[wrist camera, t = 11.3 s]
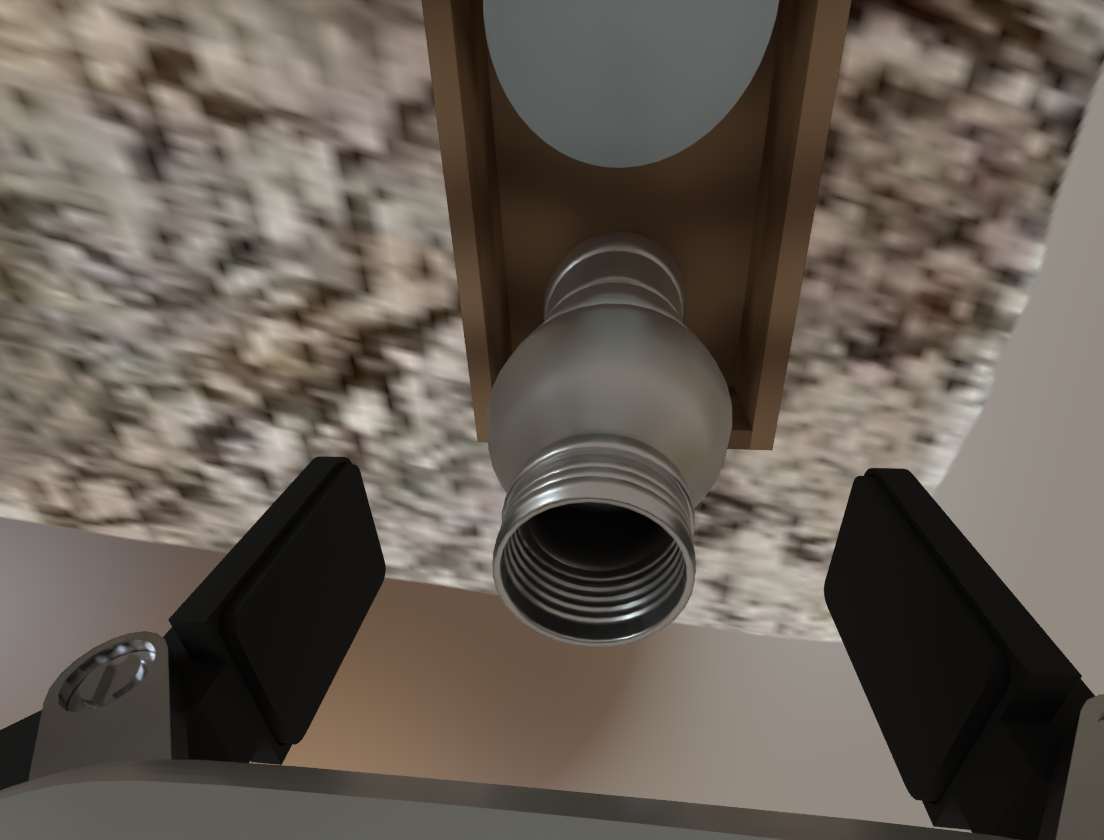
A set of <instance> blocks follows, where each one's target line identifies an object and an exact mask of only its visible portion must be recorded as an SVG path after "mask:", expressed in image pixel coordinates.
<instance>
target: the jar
mask: <svg viewBox="0 0 1104 840" xmlns="http://www.w3.org/2000/svg"><path fill="white" fill-rule="evenodd" d="M778 4H779V0H483V15H484V24H485V31H486V39H487V43H488V47H489V51H490V55H491V59H492V63H493V65H494V68H495V71H496V74H497V76H498V79H499V81H500V83H501V85H502V87H503V89H504V91H505V93H506V96H507V98H508V99H509V101H510V102H511V104H512V105H513V107H514V108H515V110H516V112H517V113H518V115H519V116H520V117H521V118H522V119H523V121H524V122H525V123H526V124H527V125H528V126H529V128H530V129H531V130H532V131H533V132H534V133H536V134H537V135H538V136H539V137H540V138H541V139H542V140H543V141H544V142H546V143H547V144H549V145H550V146H552V147H553V148H555V149H556V150H557V151H559V152H561V153H563V154H565V155H567V156H569V157H571V158H573V159H576V160H579V161H582V162H585V163H588V164H591V165H597V166H603V167H616V168H626V167H634V166H642V165H646V164H650V163H654V162H657V161H660V160H663V159H665V158H667V157H670V156H672V155H675V154H677V153H678V152H680V151H682V150H684V149H686V148H687V147H689V146H691V145H692V144H694V143H695V142H696V141H698V140H699V139H700V138H702V137H703V136H705V135H706V134H707V133H708V132H709V131H711V130H712V129H713V128H714V127H715V126H716V125H717V124H718V123H719V122H720V121H721V120H722V119H723V118H724V117H725V116H726V115H727V113H728V112H729V111H730V110H731V109H732V107H733V106H734V105H735V104H736V103H737V101H738V100H739V98H740V97H741V95H742V94H743V92H744V91H745V89H746V88H747V87H748V85H749V84H750V82H751V80H752V78H753V76H754V74H755V72H756V70H757V68H758V67H759V65H760V63H761V60H762V58H763V55H764V53H765V50H766V48H767V45H768V43H769V40H770V37H771V33H772V30H773V26H774V23H775V20H776V15H777V10H778Z"/></svg>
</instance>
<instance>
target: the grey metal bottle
mask: <svg viewBox="0 0 1104 840" xmlns="http://www.w3.org/2000/svg"><path fill="white" fill-rule="evenodd" d="M685 307H686V288H685V283H684V280H683V276H682V273H681V271H680V269H679V267H678V265H677V263H676V261H675V260H674V259H673V257H672V256H671V255H670V254H669V253H668V251H667V250H666V249H664V248H663V247H662V246H661V245H659V244H658V243H657V242H655V241H653V240H651V239H649V238H647V237H645V236H643V235H639V234H635V233H630V232H609V233H604V234H598V235H596V236H593V237H591V238H588V239H586V240H584V241H582V242H581V243H579V244H578V245H576V246H575V247H573V248H572V249H571V250H570V251H569V252H568V253H567V254H566V255H565V256H564V257H563V258H562V259H561V260H560V261H559V263H558V264H557V266H556V267H555V269H554V270H553V272H552V274H551V276H550V279H549V281H548V283H547V287H546V292H545V296H544V323H543V324H541V325H540V326H539V327H538V328H537V329H535V330H534V331H533V332H532V333H531V334H530V335H529V336H528V337H527V338H526V339H525V340H524V341H522V342H521V343H520V345H519V346H518V347H517V349H516V350H515V351H514V353H513V354H512V355H511V357H510V358H509V359H508V361H507V362H506V364H505V365H504V366H503V368H502V369H501V371H500V372H499V374H498V376H497V379H496V381H495V383H494V386H493V388H492V390H491V393H490V398H489V403H488V408H487V438H488V449H489V454H490V458H491V462H492V466H493V469H494V471H495V473H496V475H497V478H498V480H499V482H500V484H501V486H502V487H503V489H504V490H505V492H506V493H507V495H506V498H505V502H504V506H503V510H502V525H501V528H500V531H499V534H498V537H497V540H496V544H495V548H494V552H493V578H494V582H495V586H496V589H497V592H498V593H499V595H500V597H501V599H502V600H503V602H504V604H505V605H506V606H507V608H508V609H509V610H510V611H511V612H512V613H513V615H514V616H516V617H517V618H518V619H519V620H520V621H522V622H523V623H524V624H525V625H526V626H528V627H530V628H532V629H533V630H535V631H537V632H538V633H540V634H542V635H544V636H547V637H550V638H552V639H555V640H557V641H561V642H565V643H569V644H574V645H579V646H589V647H608V646H616V645H622V644H629V643H632V642H635V641H638V640H641V639H644V638H647V637H649V636H651V635H653V634H655V633H656V632H658V631H660V630H662V629H663V628H665V627H666V626H667V625H668V624H670V623H671V622H672V621H674V620H675V619H676V617H677V616H678V615H679V614H680V613H681V612H682V610H683V609H684V608H685V606H686V604H687V602H688V600H689V598H690V597H691V595H692V590H693V586H694V581H695V573H696V562H695V551H694V545H693V536H694V531H695V513H694V507H695V506H696V505H697V504H698V503H700V502H701V501H702V499H703V498H704V497H705V495H706V494H707V493H708V491H709V490H710V489H711V488H712V486H713V485H714V483H715V481H716V479H717V477H718V475H719V473H720V471H721V469H722V467H723V464H724V460H725V456H726V451H727V447H728V443H729V438H730V434H731V429H732V403H731V399H730V395H729V391H728V387H727V383H726V381H725V379H724V377H723V375H722V373H721V371H720V369H719V367H718V365H717V363H716V361H715V360H714V359H713V357H712V356H711V354H710V352H709V351H708V350H707V348H706V347H705V346H704V345H703V344H702V343H701V341H700V340H699V339H698V338H697V337H696V336H695V334H694V333H692V332H691V331H690V330H689V329H688V328H687V327H686V326H685V325H684V324H683V321H684V314H685Z"/></svg>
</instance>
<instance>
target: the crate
mask: <svg viewBox="0 0 1104 840" xmlns="http://www.w3.org/2000/svg"><path fill="white" fill-rule="evenodd" d="M851 1H852V0H779V4H778V10H777V15H776V20H775V23H774V26H773V30H772V33H771V37H770V40H769V43H768V45H767V48H766V50H765V53H764V55H763V58H762V60H761V63H760V65H759V67H758V68H757V70H756V72H755V74H754V76H753V78H752V80H751V82H750V84H749V85H748V87H747V88H746V89H745V91H744V92H743V94H742V95H741V97H740V98H739V100H738V101H737V103H736V104H735V105H734V106H733V107H732V109H731V110H730V111H729V112H728V113H727V115H726V116H725V117H724V118H723V119H722V120H721V121H720V122H719V123H718V124H717V125H716V126H715V127H714V128H713V129H712V130H711V131H709V132H708V133H707V134H706V135H705V136H703V137H702V138H700V139H699V140H698V141H696V142H695V143H694V144H692V145H691V146H689V147H687V148H686V149H684V150H682V151H680V152H678V153H677V154H675V155H672V156H670V157H667V158H665V159H663V160H660V161H657V162H654V163H650V164H646V165H642V166H634V167H626V168H616V167H603V166H597V165H591V164H588V163H585V162H582V161H579V160H576V159H573V158H571V157H569V156H567V155H565V154H563V153H561V152H559V151H557V150H556V149H555V148H553V147H552V146H550V145H549V144H547V143H546V142H544V141H543V140H542V139H541V138H540V137H539V136H538V135H537V134H536V133H534V132H533V131H532V130H531V129H530V128H529V126H528V125H527V124H526V123H525V122H524V121H523V119H522V118H521V117H520V116H519V115H518V113H517V112H516V110H515V108H514V107H513V105H512V104H511V102H510V101H509V99H508V98H507V96H506V93H505V91H504V89H503V87H502V85H501V83H500V81H499V79H498V76H497V74H496V71H495V68H494V65H493V63H492V59H491V55H490V51H489V47H488V43H487V39H486V31H485V24H484V15H483V0H422V7H423V15H424V23H425V31H426V39H427V46H428V54H429V62H430V70H431V78H432V86H433V94H434V101H435V109H436V117H437V125H438V133H439V141H440V148H441V156H442V164H443V172H444V180H445V188H446V196H447V203H448V211H449V219H450V227H451V235H452V243H453V251H454V258H455V266H456V274H457V282H458V290H459V298H460V306H461V313H462V321H463V329H464V337H465V345H466V353H467V361H468V368H469V376H470V384H471V392H472V400H473V408H474V416H475V423H476V431H477V439H478V442H488V438H487V408H488V403H489V398H490V393H491V390H492V388H493V386H494V383H495V381H496V379H497V376H498V374H499V372H500V371H501V369H502V368H503V366H504V365H505V364H506V362H507V361H508V359H509V358H510V357H511V355H512V354H513V353H514V351H515V350H516V349H517V347H518V346H519V345H520V343H521V342H522V341H524V340H525V339H526V338H527V337H528V336H529V335H530V334H531V333H532V332H533V331H534V330H535V329H537V328H538V327H539V326H540V325H541V324H543V323H544V296H545V292H546V287H547V283H548V281H549V279H550V276H551V274H552V272H553V270H554V269H555V267H556V266H557V264H558V263H559V261H560V260H561V259H562V258H563V257H564V256H565V255H566V254H567V253H568V252H569V251H570V250H571V249H572V248H573V247H575V246H576V245H578V244H579V243H581V242H582V241H584V240H586V239H588V238H591V237H593V236H596V235H598V234H604V233H609V232H630V233H635V234H639V235H643V236H645V237H647V238H649V239H651V240H653V241H655V242H657V243H658V244H659V245H661V246H662V247H663V248H664V249H666V250H667V251H668V253H669V254H670V255H671V256H672V257H673V259H674V260H675V261H676V263H677V265H678V267H679V269H680V271H681V273H682V276H683V280H684V283H685V288H686V307H685V314H684V321H683V324H684V325H685V326H686V327H687V328H688V329H689V330H690V331H691V332H692V333H694V334H695V336H696V337H697V338H698V339H699V340H700V341H701V343H702V344H703V345H704V346H705V347H706V348H707V350H708V351H709V352H710V354H711V356H712V357H713V359H714V360H715V361H716V363H717V365H718V367H719V369H720V371H721V373H722V375H723V377H724V379H725V381H726V383H727V387H728V391H729V395H730V399H731V403H732V429H731V434H730V438H729V443H728V447H727V449H749V450H772V449H773V443H774V437H775V432H776V426H777V420H778V415H779V409H780V403H781V398H782V392H783V386H784V381H785V375H786V369H787V364H788V358H789V352H790V347H791V341H792V335H793V330H794V324H795V318H796V313H797V307H798V301H799V296H800V290H801V284H802V279H803V273H804V267H805V262H806V256H807V250H808V245H809V239H810V233H811V228H812V222H813V216H814V211H815V205H816V199H817V194H818V188H819V182H820V177H821V171H822V165H823V160H824V154H825V148H826V143H827V137H828V131H829V126H830V120H831V114H832V109H833V103H834V97H835V92H836V86H837V80H838V75H839V69H840V63H841V58H842V52H843V46H844V41H845V35H846V29H847V24H848V18H849V12H850V7H851Z"/></svg>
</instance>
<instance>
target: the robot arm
mask: <svg viewBox="0 0 1104 840" xmlns="http://www.w3.org/2000/svg"><path fill="white" fill-rule="evenodd" d="M385 571H386V568H385V561H384V557H383V554H382V550H381V546H380V543H379V539H378V535H377V532H376V528H375V524H374V521H373V517H372V513H371V510H370V506H369V502H368V499H367V495H366V491H365V488H364V484H363V480H362V476H361V473H360V470H359V468H358V466H357V465H354V464H352V463H351V461H350V460H349V459H348V458H346V457H316V458H314V459H313V460H312V461H311V462H310V463H309V464H308V466H307V467H306V468H305V469H304V470H303V471H302V472H301V473H300V474H299V476H298V477H297V478H296V479H295V480H294V481H293V482H292V483H291V484H290V486H289V487H288V488H287V489H286V490H285V491H284V492H283V493H282V494H281V495H280V497H279V498H278V499H277V500H276V501H275V502H274V503H273V504H272V505H271V507H270V508H269V509H268V510H267V511H266V512H265V513H264V514H263V515H262V517H261V518H260V519H259V520H258V521H257V522H256V523H255V524H254V525H253V526H252V528H251V529H250V530H249V531H248V532H247V533H246V534H245V535H244V536H243V538H242V539H241V540H240V541H239V542H238V543H237V544H236V545H235V546H234V548H233V549H232V550H231V551H230V552H229V553H228V554H227V555H226V556H225V558H224V559H223V560H222V561H221V562H220V563H219V564H218V565H217V566H216V568H215V569H214V570H213V571H212V572H211V573H210V574H209V575H208V576H207V578H205V580H204V581H203V582H202V583H201V584H200V585H199V586H198V587H197V588H196V590H195V591H194V592H193V593H192V594H191V595H190V596H189V597H188V598H187V600H186V601H185V602H184V603H183V604H182V605H181V607H179V608H178V610H177V611H176V612H175V613H174V614H173V615H172V616H171V617H170V618H169V622H170V623H171V625H172V628H171V629H170V630H169V631H168V632H167V633H166V634H165V636H164V637H161V636H160V635H159V634H157V633H152V632H146V631H143V632H135V633H128V634H125V635H122V636H119V637H116V638H113V639H111V640H108V641H106V642H105V643H103V644H101V645H98V646H96V647H94V648H93V649H91V650H90V651H88V652H87V653H85V654H84V655H82V656H81V657H79V658H78V659H76V660H75V661H74V662H73V663H72V664H71V665H70V666H68V668H66V669H65V670H64V671H63V672H62V673H61V674H60V675H59V677H58V678H57V679H56V680H55V682H54V683H53V684H52V685H51V687H50V688H49V691H48V693H47V695H46V698H45V700H44V703H43V708H42V710H41V711H39V712H37V713H35V714H32V715H31V716H28V717H26V718H24V719H22V720H20V721H18V722H16V723H14V724H12V725H10V726H8V727H6V728H4V729H2V730H0V840H1104V695H1098V696H1094V694H1093V693H1092V692H1091V691H1090V689H1089V688H1088V687H1087V686H1086V685H1085V684H1084V682H1083V681H1082V680H1081V679H1080V678H1081V677H1082V675H1081V674H1080V673H1079V672H1078V671H1077V670H1076V668H1075V667H1074V666H1073V665H1072V663H1071V662H1070V661H1069V660H1068V659H1067V658H1066V657H1065V655H1064V654H1063V653H1062V652H1061V650H1060V649H1059V648H1058V647H1057V646H1056V644H1055V643H1054V642H1053V641H1052V640H1051V638H1049V636H1048V635H1047V634H1046V633H1045V631H1044V630H1043V629H1042V628H1041V627H1040V625H1039V624H1038V623H1037V622H1036V621H1035V619H1034V618H1033V617H1032V616H1031V615H1030V613H1029V612H1028V611H1027V610H1026V609H1025V607H1024V606H1023V605H1022V604H1021V603H1020V602H1019V600H1018V599H1017V598H1016V597H1015V596H1014V594H1013V593H1012V592H1011V591H1010V590H1009V589H1008V587H1007V586H1006V585H1005V584H1004V582H1003V581H1002V580H1001V579H1000V578H999V577H998V576H997V574H996V573H995V572H994V571H993V569H992V568H991V567H990V566H989V565H988V563H987V562H986V561H985V560H984V559H983V557H982V556H981V555H980V554H979V553H978V552H977V550H976V549H975V548H974V547H973V546H972V544H971V543H970V542H969V541H968V540H967V539H966V537H965V536H964V535H963V534H962V533H961V531H960V530H959V529H958V528H957V527H956V525H955V524H954V523H953V522H952V521H951V519H950V518H949V517H948V516H947V515H946V513H945V512H944V511H943V510H942V509H941V507H940V506H939V505H938V504H937V503H936V502H935V500H934V499H933V498H932V497H931V496H930V494H929V493H928V492H927V491H926V490H925V488H924V487H923V486H922V485H921V484H920V482H919V481H918V480H917V479H916V478H915V476H914V475H913V474H912V473H911V472H910V471H909V470H907V469H891V468H870V469H868V470H867V471H866V472H865V474H864V476H858V477H856V478H855V480H854V482H853V485H852V489H851V492H850V496H849V499H848V503H847V506H846V510H845V513H844V517H843V520H842V524H841V527H840V531H839V534H838V538H837V542H836V545H835V549H834V552H833V556H832V559H831V563H830V566H829V570H828V573H827V577H826V580H825V585H824V596H825V601H826V604H827V607H828V609H829V611H830V613H831V616H832V618H833V620H834V623H835V625H836V627H837V630H838V632H839V634H840V637H841V639H842V641H843V643H844V645H845V648H846V650H847V653H848V655H849V657H850V660H851V662H852V664H853V666H854V669H855V671H856V673H857V676H858V678H859V680H860V682H861V685H862V687H863V689H864V692H865V694H866V696H867V699H868V701H869V703H870V706H871V708H872V710H873V712H874V715H875V717H876V719H877V722H878V724H879V726H880V728H881V731H882V733H883V736H884V738H885V740H886V742H887V745H888V747H889V749H890V752H891V754H892V756H893V759H894V761H895V763H896V765H897V768H898V770H899V772H900V775H901V777H902V779H903V782H904V784H905V786H906V788H907V790H908V792H909V793H910V794H911V796H912V797H913V798H914V799H916V800H922V802H923V804H924V806H925V808H926V811H927V813H928V815H929V817H930V819H931V821H932V824H933V826H935V827H946V828H957V829H967V830H971V831H972V833H969V832H959V831H952V830H943V829H934V828H926V827H917V826H909V825H900V824H891V823H883V822H874V821H866V820H858V819H847V818H837V817H827V816H817V815H806V814H797V813H787V812H777V811H766V810H757V809H747V808H737V807H727V806H717V805H707V804H697V803H687V802H677V801H667V800H656V799H646V798H635V797H624V796H614V795H604V794H593V793H582V792H572V791H561V790H550V789H539V788H528V787H518V786H508V785H497V784H486V783H476V782H465V781H454V780H441V779H432V778H420V777H409V776H397V775H386V774H375V773H363V772H352V771H341V770H330V769H319V768H307V767H296V766H281V764H282V763H283V761H284V759H285V757H286V755H287V753H288V751H289V750H290V748H291V746H292V744H297V743H299V742H300V741H301V740H302V739H303V737H304V735H305V734H306V732H307V730H308V728H309V726H310V724H311V722H312V720H313V718H314V716H315V714H316V712H317V710H318V708H319V706H320V704H321V702H322V700H323V698H324V697H325V695H326V692H327V691H328V689H329V686H330V685H331V683H332V681H333V679H334V677H335V675H336V673H337V671H338V669H339V667H340V665H341V663H342V661H343V659H344V657H345V655H346V653H347V651H348V649H349V648H350V645H351V644H352V642H353V640H354V638H355V636H356V634H357V632H358V630H359V628H360V626H361V624H362V622H363V620H364V618H365V616H366V614H367V612H368V610H369V608H370V606H371V604H372V602H373V600H374V598H375V597H376V595H377V593H378V591H379V589H380V587H381V585H382V583H383V580H384V577H385ZM250 760H251V762H258V763H268V764H279V765H266V764H252V763H249V762H250Z"/></svg>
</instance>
